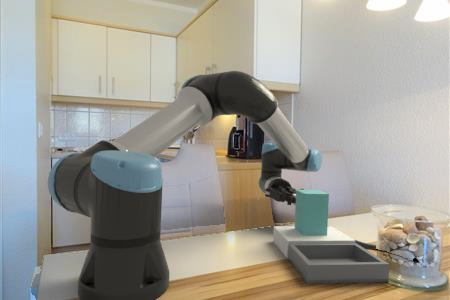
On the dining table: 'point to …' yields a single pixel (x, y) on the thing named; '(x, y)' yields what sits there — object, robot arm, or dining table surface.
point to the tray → (337, 263)
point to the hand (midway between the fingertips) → (302, 203)
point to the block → (311, 212)
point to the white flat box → (306, 237)
